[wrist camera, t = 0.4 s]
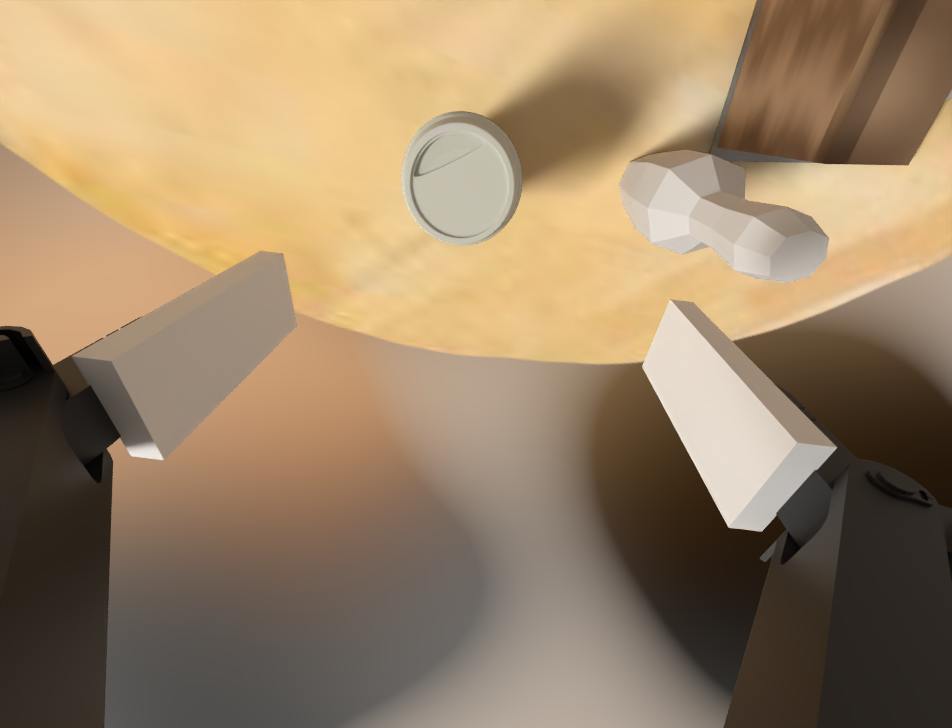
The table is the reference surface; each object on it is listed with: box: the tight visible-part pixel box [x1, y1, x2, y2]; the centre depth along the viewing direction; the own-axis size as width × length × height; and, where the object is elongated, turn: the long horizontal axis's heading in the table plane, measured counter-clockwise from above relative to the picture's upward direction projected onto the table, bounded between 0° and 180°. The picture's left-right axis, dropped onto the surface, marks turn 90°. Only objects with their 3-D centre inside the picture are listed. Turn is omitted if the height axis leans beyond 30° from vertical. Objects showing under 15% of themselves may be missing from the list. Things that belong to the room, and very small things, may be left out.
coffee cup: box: [401, 111, 522, 246], centre depth 30 cm, size 8×8×12 cm
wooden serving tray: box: [717, 0, 952, 165], centre depth 23 cm, size 14×4×14 cm, turn 179°
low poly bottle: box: [619, 150, 829, 283], centre depth 26 cm, size 6×6×22 cm
